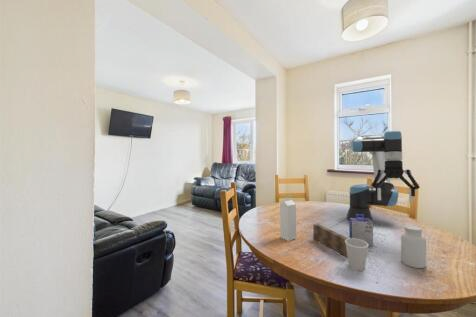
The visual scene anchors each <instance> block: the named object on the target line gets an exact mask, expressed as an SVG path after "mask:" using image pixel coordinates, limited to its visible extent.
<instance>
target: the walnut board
mask: <svg viewBox="0 0 476 317" xmlns="http://www.w3.org/2000/svg"><path fill="white" fill-rule="evenodd" d="M312 225H313V228H312V229H313V231H312V232H313V234H312V235H313V240H314V239H315V240H314V241H316V242H317V243H319V242H320V243H319V244H321V245H322V246H324V245H325V247H326V248H328V249H330V250H331V249H332V251H333V252H335V253H337V254H338V253H339V254H338V255H340V256H342V257H344V258H345V259H348V257H347V250H346V243H345V240H346V239H349V237H346V236H344V235H342V234H340V233H338V232H336V231H334V230H331V229H330V228H327V227H325V226H324V225H321V224H319V223H314V224H312Z"/></svg>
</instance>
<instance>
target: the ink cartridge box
mask: <svg viewBox="0 0 476 317" xmlns="http://www.w3.org/2000/svg"><path fill="white" fill-rule="evenodd" d="M359 215H361V216H363V217H357V216H359ZM348 230H349V231H348V234H349V237H348V238H349V239H350V238H354V239H360V240H363V241H365V242H367V243H368V245H369V246H370V247H373V246H374V220H373V221H372V220H371V219H369V218H364V214H356V218H349V220H348ZM369 246H368V247H369Z"/></svg>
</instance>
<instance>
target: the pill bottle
mask: <svg viewBox="0 0 476 317" xmlns="http://www.w3.org/2000/svg"><path fill="white" fill-rule="evenodd" d="M422 230H423V229H422V228H421V227H419V226H416V225H405V226H404V231H403V232H402V233H401V235H400V259H401V260H400V261H401V262H402V263H403V264H404V265H406V266H408V267H410V268H416V269H424V268H426V266H427V238H426V237H425V236H424V235H423V232H422Z"/></svg>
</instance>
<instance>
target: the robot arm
mask: <svg viewBox="0 0 476 317" xmlns="http://www.w3.org/2000/svg"><path fill="white" fill-rule="evenodd" d="M402 140H403V136H402V132H401V131H400V130H390V131H389V130H388V131H386V132H384V133H383V134H375V135H372V134H370V135H360V136H356V137H354V138H353V139H352V140H351V141H350V147H351V151H352V152H354V153H369V155H371V157H372V168H373V178H374V179H373V182H372V183H371V186H370V184H362V183H361V184H354V185H351V186H350V187H349V208H348V211H347V213H346V219H347V220H348V221H349V218H356V214H364V218H369V219H371V220H372V221H373V222H374V218H373V215H372V213H371V209H370V208H371V206H377V207H378V206H380V207H395V206H397V204H398V199H399V188H397V187H395V185H394V184H393V183H392V182H391V179H400V180H401V182H403V183H404V184H405V185H406V186H407V187H408V188H409V189H408V201H409V202H408V203H409V204H413V203H414V202H413V200H414V199H413V198H414V197H415V196H416V190H419V189H420V185H419V184H418V182H417V181H416V179H415V177H414V176H413V175H412V171H411V169H404V168H403V161H402V160H403V144H402V142H403V141H402ZM403 174H406V175H407V177H408V178H409V179H410V182H411V183H412V184H411V183H410V182H409V181H408V180H407V179H406V178H405V177H404V175H403ZM357 217H363V216H361V215H359V216H357Z"/></svg>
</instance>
